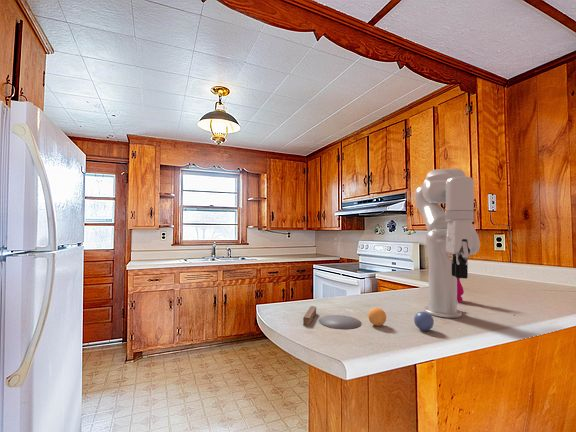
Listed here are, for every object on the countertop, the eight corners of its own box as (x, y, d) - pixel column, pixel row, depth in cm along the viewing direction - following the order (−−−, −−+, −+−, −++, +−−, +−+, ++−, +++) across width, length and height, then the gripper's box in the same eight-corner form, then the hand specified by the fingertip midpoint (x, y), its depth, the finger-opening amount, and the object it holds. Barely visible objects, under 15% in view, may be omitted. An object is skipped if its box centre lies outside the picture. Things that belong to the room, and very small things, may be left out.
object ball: (374, 321, 100) (374, 304, 100) (389, 325, 96) (389, 308, 96) (364, 324, 97) (364, 307, 97) (380, 329, 92) (380, 311, 93)
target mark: (336, 313, 109) (336, 312, 109) (369, 323, 99) (369, 322, 99) (309, 320, 100) (309, 319, 100) (342, 332, 89) (342, 331, 89)
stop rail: (316, 313, 108) (316, 306, 108) (309, 325, 95) (309, 317, 95) (310, 312, 109) (310, 306, 109) (303, 325, 95) (303, 317, 95)
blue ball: (419, 325, 97) (419, 308, 97) (436, 330, 93) (436, 312, 93) (410, 329, 93) (410, 311, 93) (428, 334, 89) (428, 315, 89)
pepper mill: (466, 303, 127) (466, 256, 128) (448, 302, 129) (448, 255, 130) (460, 299, 135) (460, 254, 135) (442, 298, 136) (442, 254, 137)
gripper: (439, 217, 100) (439, 272, 100) (453, 216, 85) (453, 281, 84) (464, 218, 99) (464, 273, 98) (483, 216, 83) (483, 282, 82)
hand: (459, 276), depth 91 cm, fingers open, 3 cm apart
